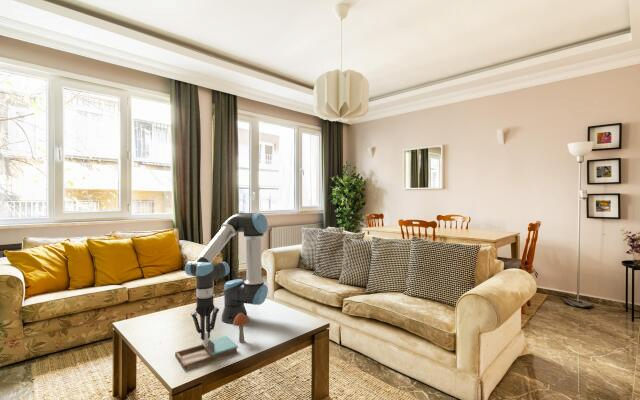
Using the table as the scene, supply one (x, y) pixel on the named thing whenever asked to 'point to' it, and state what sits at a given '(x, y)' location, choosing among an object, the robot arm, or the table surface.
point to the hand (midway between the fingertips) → (205, 345)
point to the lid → (220, 345)
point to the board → (199, 356)
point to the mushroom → (240, 324)
